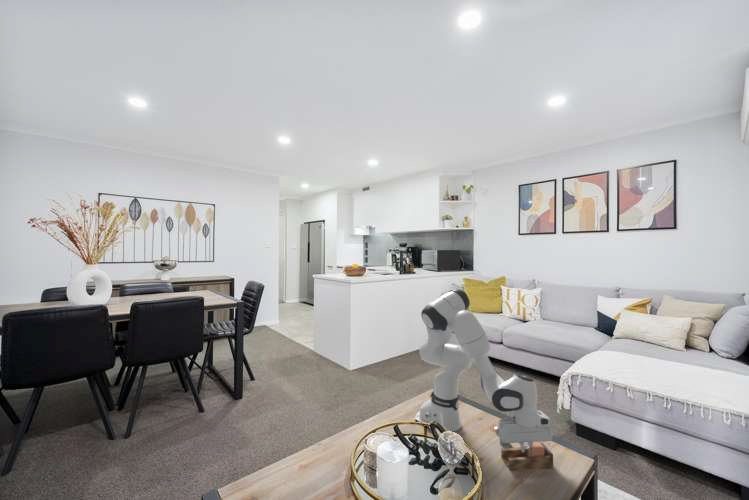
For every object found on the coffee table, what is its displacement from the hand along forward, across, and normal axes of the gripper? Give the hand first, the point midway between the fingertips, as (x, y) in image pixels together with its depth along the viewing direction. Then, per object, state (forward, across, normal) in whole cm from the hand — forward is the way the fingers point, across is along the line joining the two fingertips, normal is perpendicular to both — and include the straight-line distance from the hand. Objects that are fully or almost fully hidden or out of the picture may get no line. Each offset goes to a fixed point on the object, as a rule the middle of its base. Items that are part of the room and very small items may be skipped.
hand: (525, 451), depth 120 cm
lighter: (+5, -4, +12) cm, 14 cm away
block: (+4, +4, 0) cm, 6 cm away
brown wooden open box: (+5, +1, 0) cm, 5 cm away
